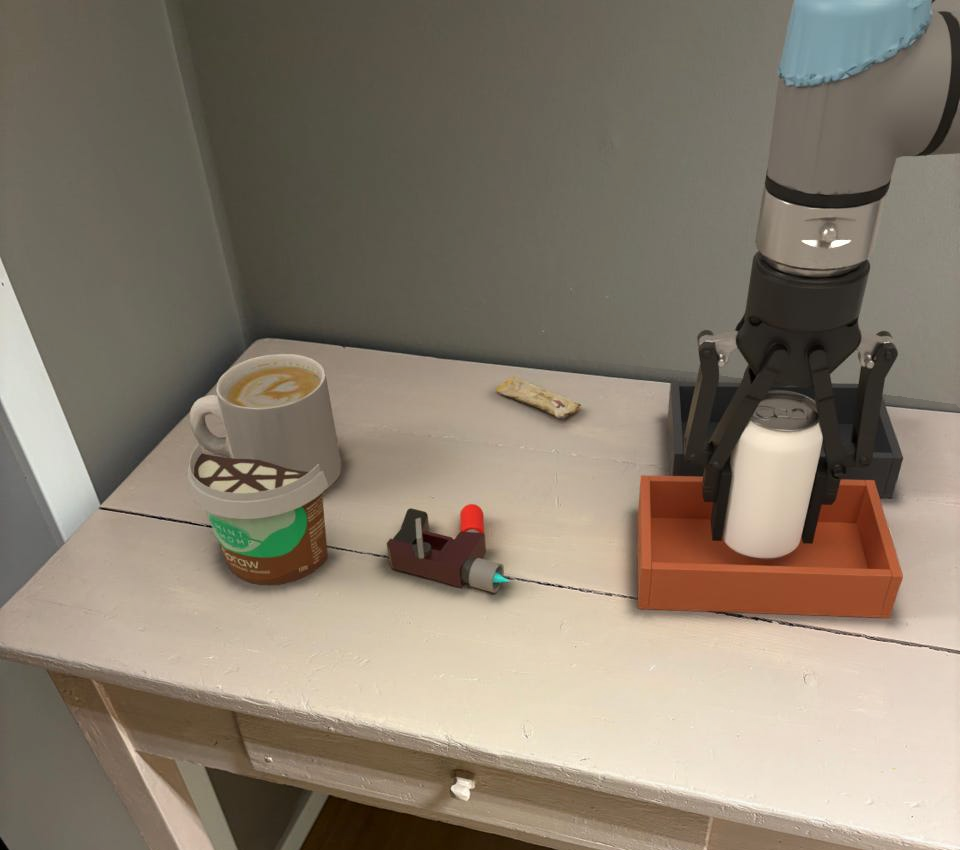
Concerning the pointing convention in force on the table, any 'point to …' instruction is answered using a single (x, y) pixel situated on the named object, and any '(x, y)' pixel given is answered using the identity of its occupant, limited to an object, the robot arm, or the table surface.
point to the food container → (262, 515)
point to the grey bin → (845, 395)
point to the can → (773, 476)
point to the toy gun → (446, 551)
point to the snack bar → (538, 397)
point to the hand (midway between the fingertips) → (760, 531)
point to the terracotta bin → (765, 583)
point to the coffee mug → (273, 415)
